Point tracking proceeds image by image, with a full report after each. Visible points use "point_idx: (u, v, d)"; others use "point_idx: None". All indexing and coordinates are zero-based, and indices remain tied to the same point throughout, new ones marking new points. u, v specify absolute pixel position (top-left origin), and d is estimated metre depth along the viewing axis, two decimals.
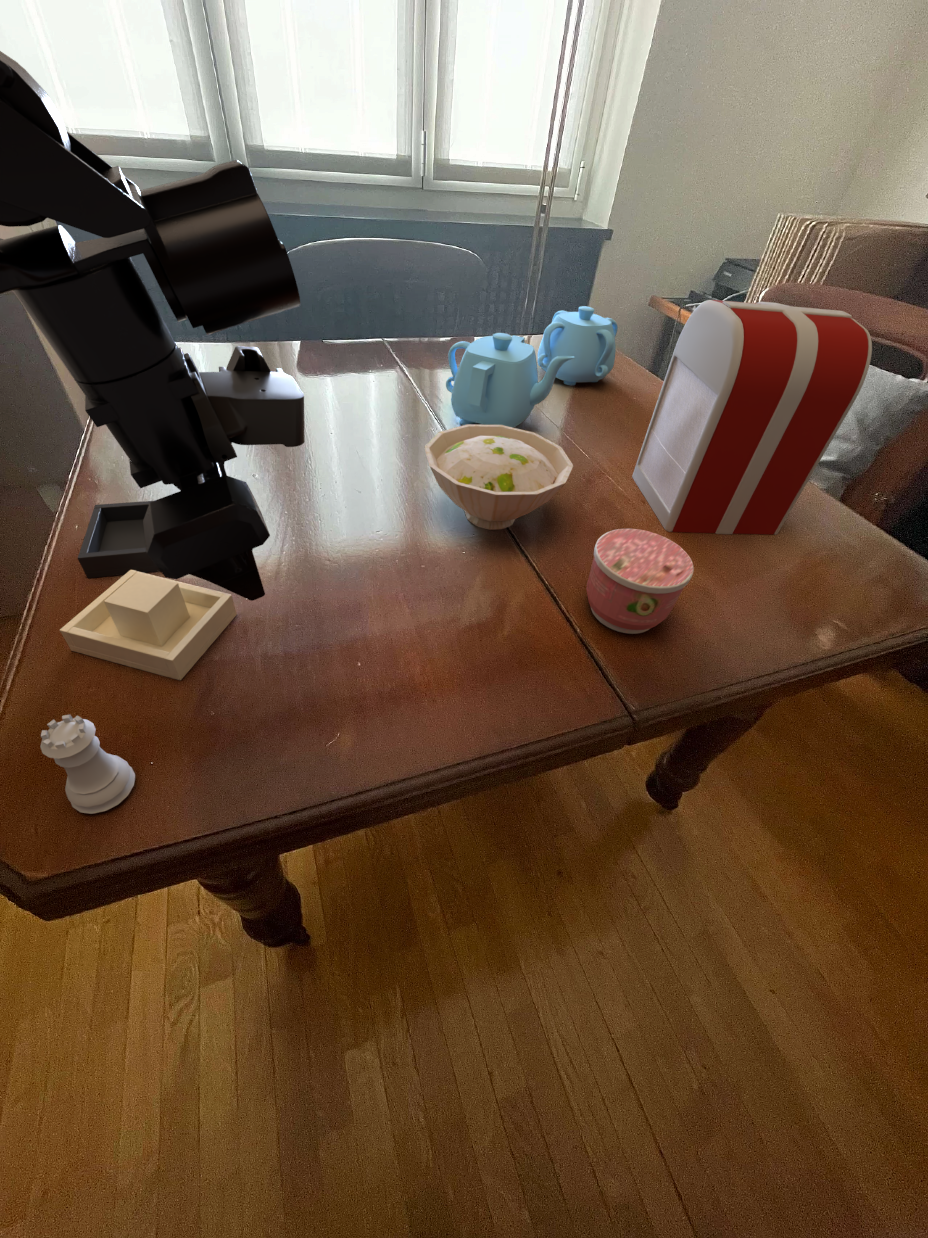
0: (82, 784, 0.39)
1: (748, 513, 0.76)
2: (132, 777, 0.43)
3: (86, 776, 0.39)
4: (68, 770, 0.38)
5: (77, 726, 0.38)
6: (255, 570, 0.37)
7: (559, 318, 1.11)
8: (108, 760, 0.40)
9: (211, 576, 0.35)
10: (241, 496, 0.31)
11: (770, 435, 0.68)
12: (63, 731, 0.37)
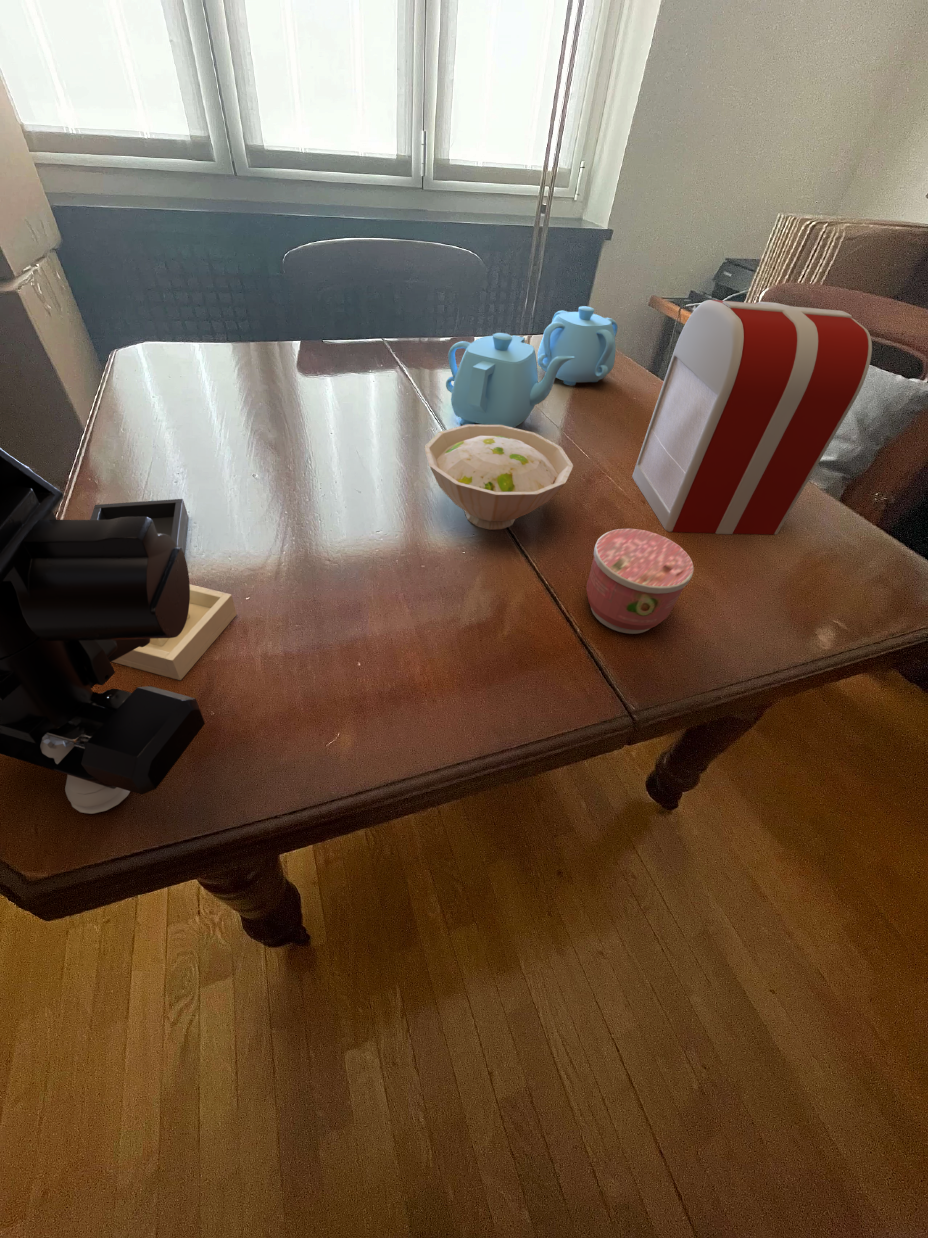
0: (82, 784, 0.39)
1: (748, 513, 0.76)
2: None
3: None
4: None
5: None
6: None
7: (559, 318, 1.11)
8: None
9: None
10: (173, 694, 0.35)
11: (770, 435, 0.68)
12: None
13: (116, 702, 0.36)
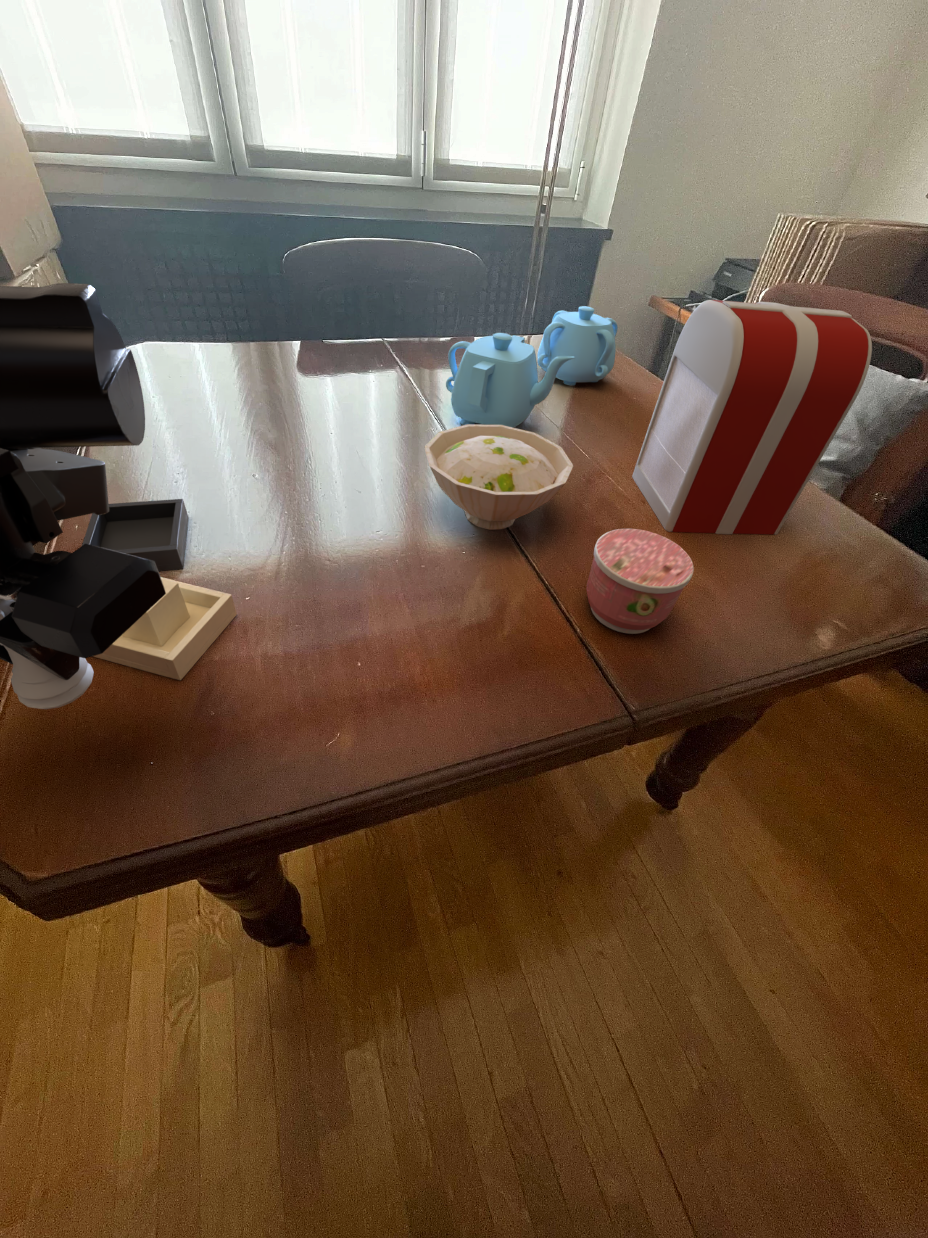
0: (28, 670, 0.34)
1: (748, 513, 0.76)
2: (90, 674, 0.38)
3: None
4: (11, 652, 0.33)
5: None
6: None
7: (559, 318, 1.11)
8: None
9: (42, 652, 0.32)
10: (127, 554, 0.30)
11: (770, 435, 0.68)
12: (3, 602, 0.32)
13: None
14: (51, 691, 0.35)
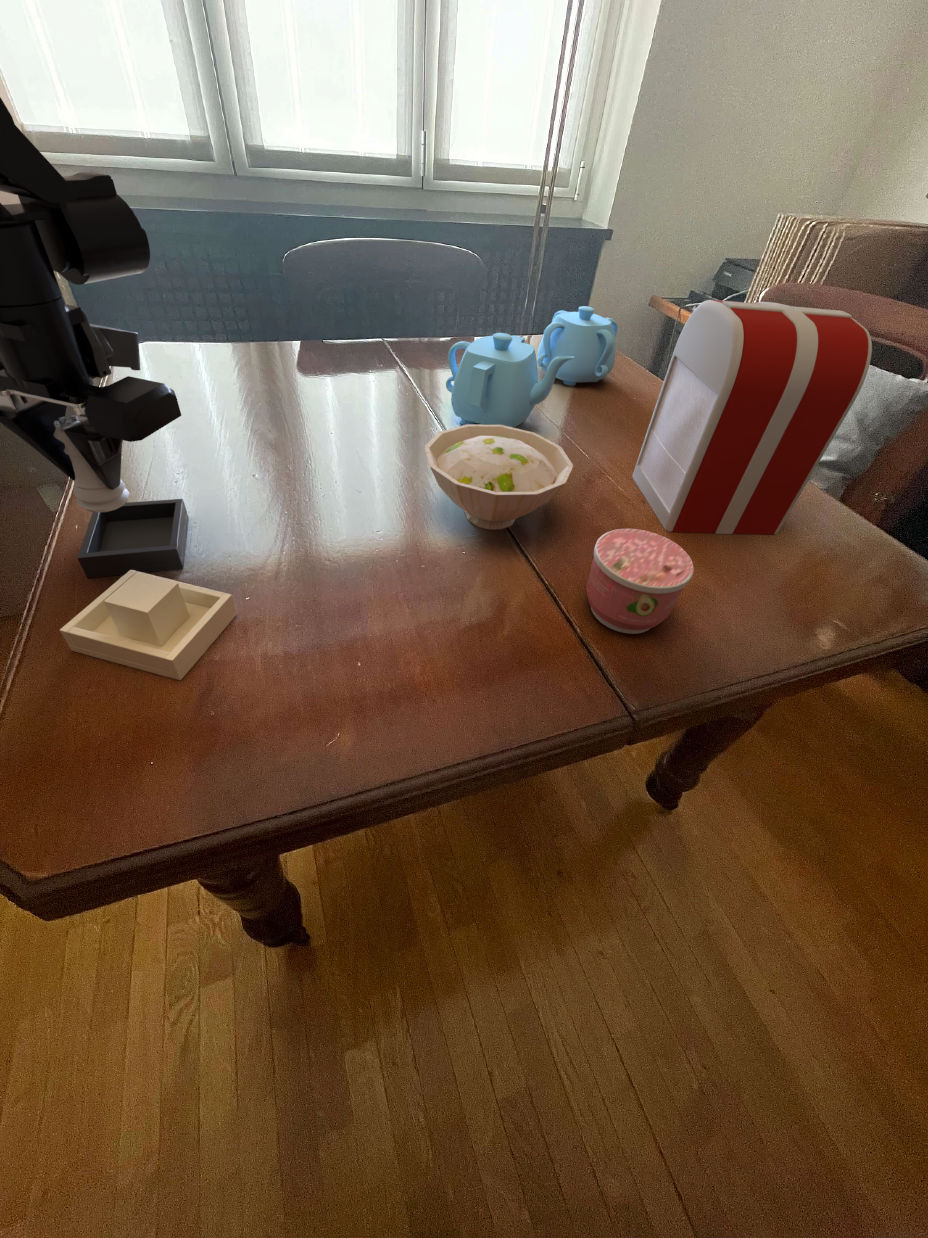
0: (86, 478, 0.49)
1: (748, 513, 0.76)
2: (127, 493, 0.53)
3: (89, 471, 0.49)
4: (75, 462, 0.48)
5: None
6: (120, 454, 0.49)
7: (559, 318, 1.11)
8: None
9: (98, 455, 0.47)
10: None
11: (770, 435, 0.68)
12: (71, 424, 0.47)
13: None
14: (101, 496, 0.50)
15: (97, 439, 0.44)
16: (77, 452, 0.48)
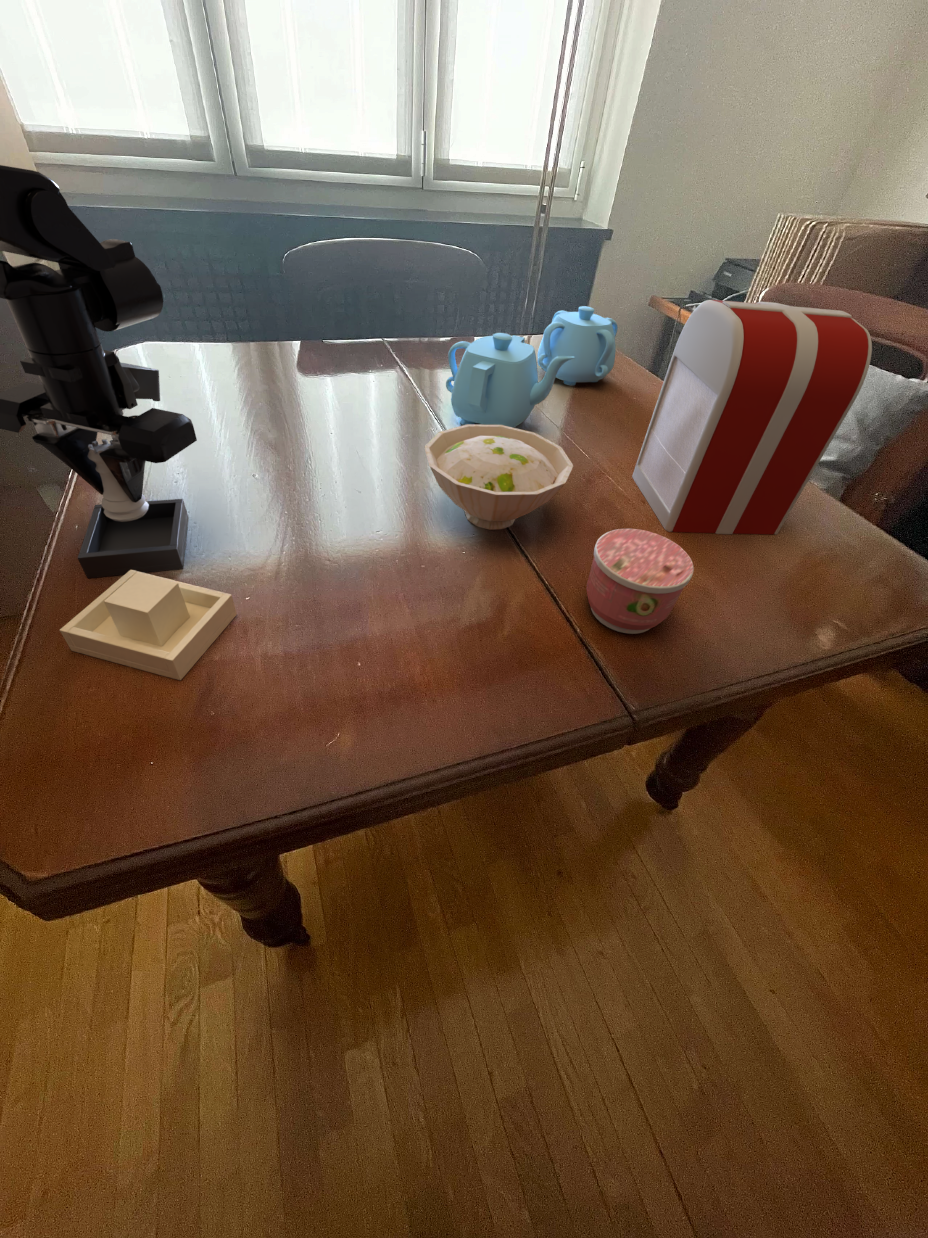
0: (114, 493, 0.58)
1: (748, 513, 0.76)
2: (147, 505, 0.61)
3: (116, 486, 0.58)
4: (105, 479, 0.57)
5: None
6: (143, 472, 0.58)
7: (559, 318, 1.11)
8: None
9: (126, 474, 0.55)
10: None
11: (770, 435, 0.68)
12: (102, 447, 0.56)
13: None
14: (126, 507, 0.59)
15: (127, 461, 0.53)
16: (107, 470, 0.56)
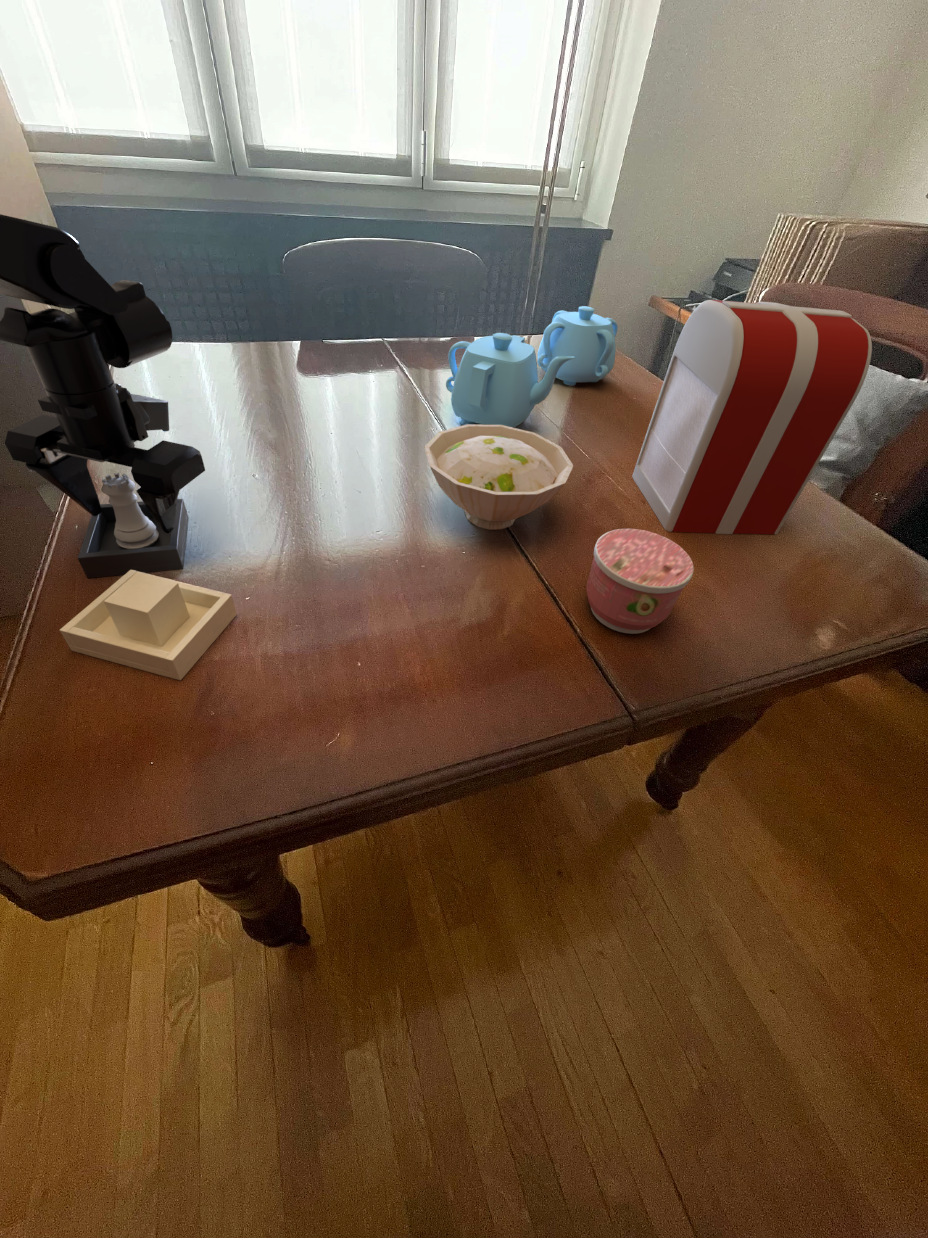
0: (126, 523, 0.60)
1: (748, 513, 0.76)
2: (157, 533, 0.64)
3: (128, 517, 0.60)
4: (117, 511, 0.60)
5: (124, 479, 0.59)
6: (176, 505, 0.60)
7: (559, 318, 1.11)
8: (142, 513, 0.62)
9: (161, 508, 0.57)
10: None
11: (770, 435, 0.68)
12: (115, 481, 0.58)
13: None
14: (137, 537, 0.61)
15: (163, 497, 0.55)
16: (120, 503, 0.59)
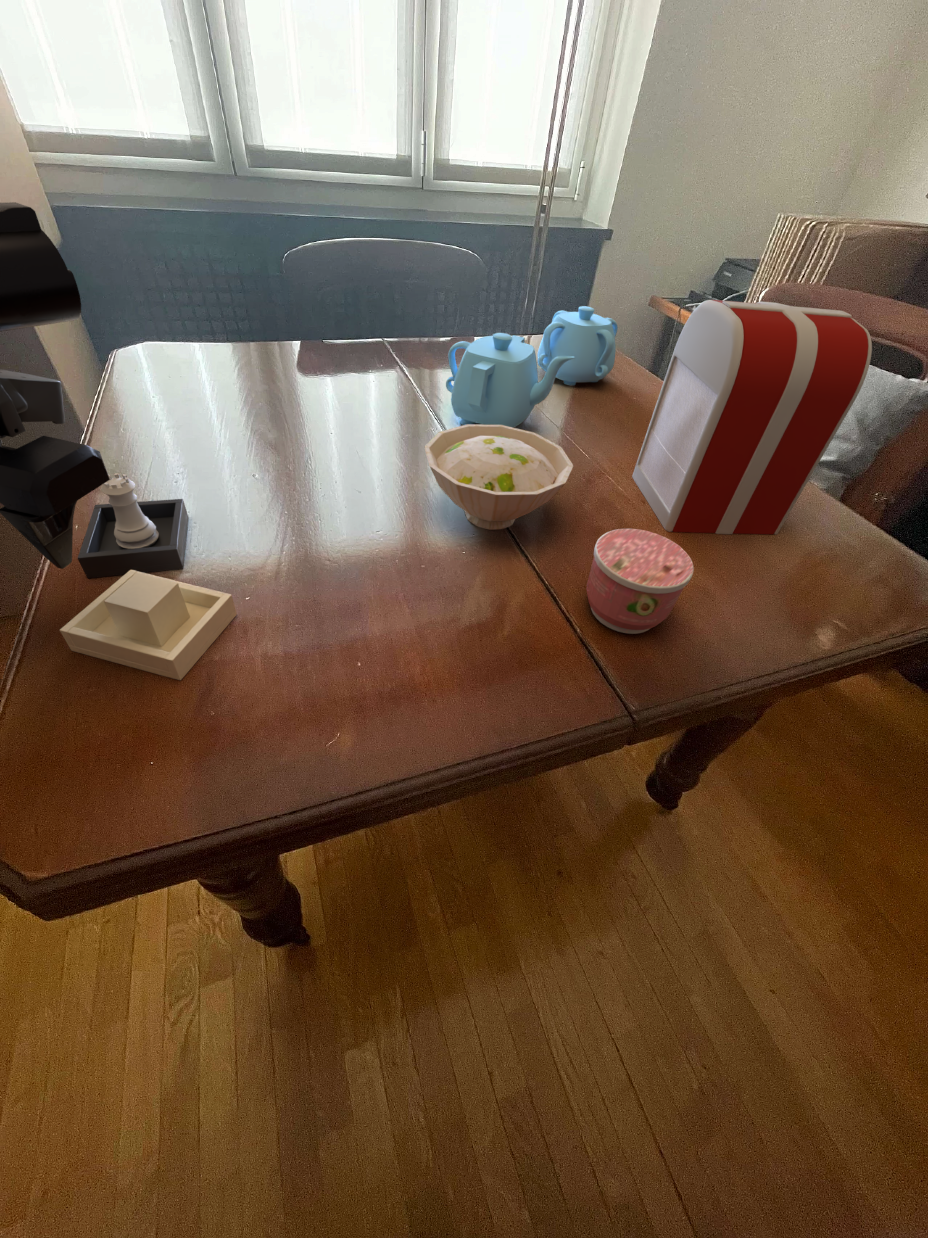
0: (126, 523, 0.60)
1: (748, 513, 0.76)
2: (157, 533, 0.64)
3: (128, 517, 0.60)
4: (117, 511, 0.60)
5: (124, 479, 0.59)
6: (71, 529, 0.42)
7: (559, 318, 1.11)
8: (142, 513, 0.62)
9: (43, 535, 0.39)
10: None
11: (770, 435, 0.68)
12: (115, 481, 0.58)
13: None
14: (137, 537, 0.61)
15: (39, 520, 0.37)
16: (120, 503, 0.59)
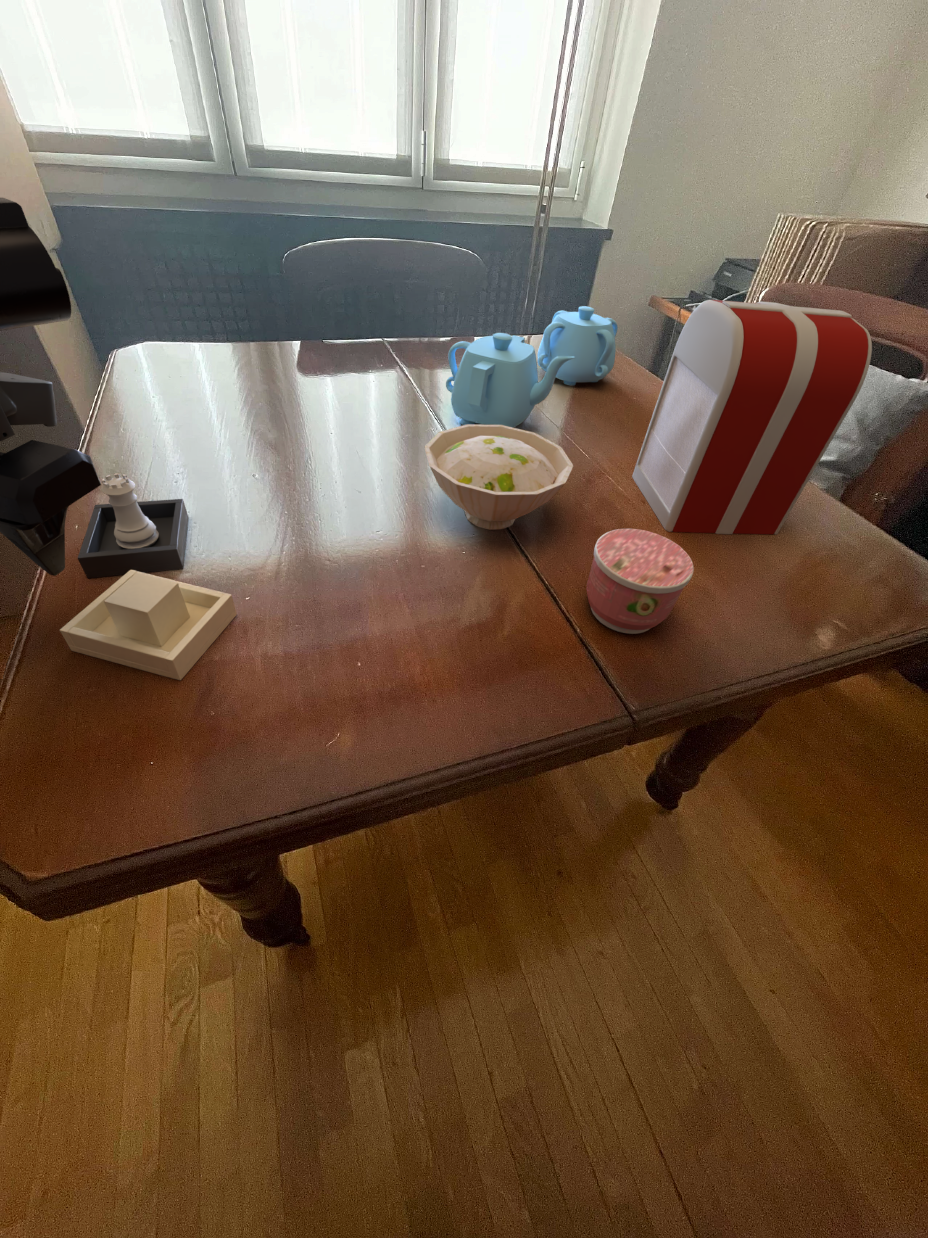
0: (126, 523, 0.60)
1: (748, 513, 0.76)
2: (157, 533, 0.64)
3: (128, 517, 0.60)
4: (117, 511, 0.60)
5: (124, 479, 0.59)
6: (63, 535, 0.41)
7: (559, 318, 1.11)
8: (142, 513, 0.62)
9: (33, 542, 0.38)
10: None
11: (770, 435, 0.68)
12: (115, 481, 0.58)
13: None
14: (137, 537, 0.61)
15: (27, 528, 0.35)
16: (120, 503, 0.59)
